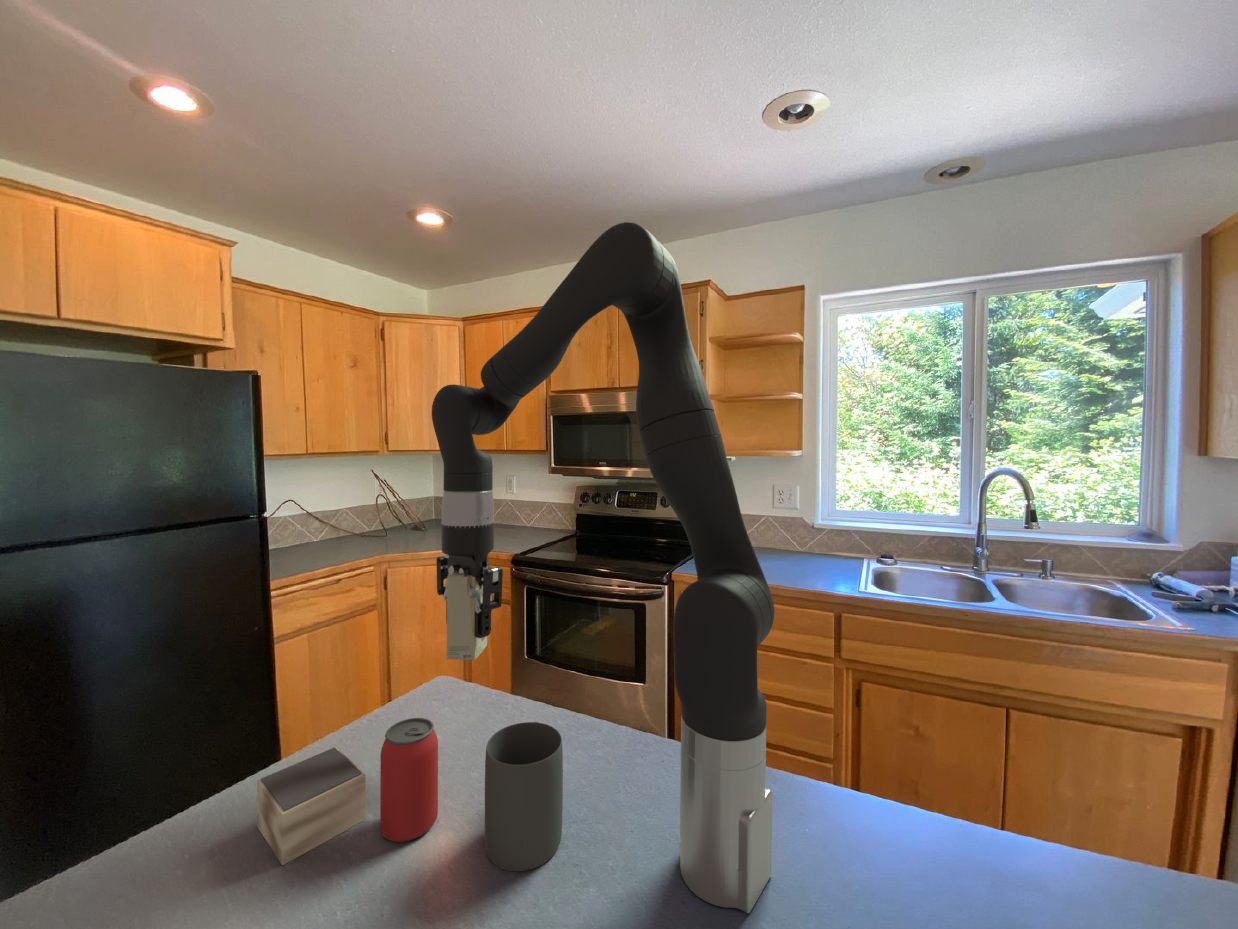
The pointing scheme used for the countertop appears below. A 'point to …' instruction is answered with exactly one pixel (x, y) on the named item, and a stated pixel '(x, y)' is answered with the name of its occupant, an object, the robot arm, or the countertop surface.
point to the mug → (523, 795)
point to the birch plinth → (310, 803)
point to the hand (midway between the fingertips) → (467, 630)
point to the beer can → (408, 780)
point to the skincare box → (462, 619)
